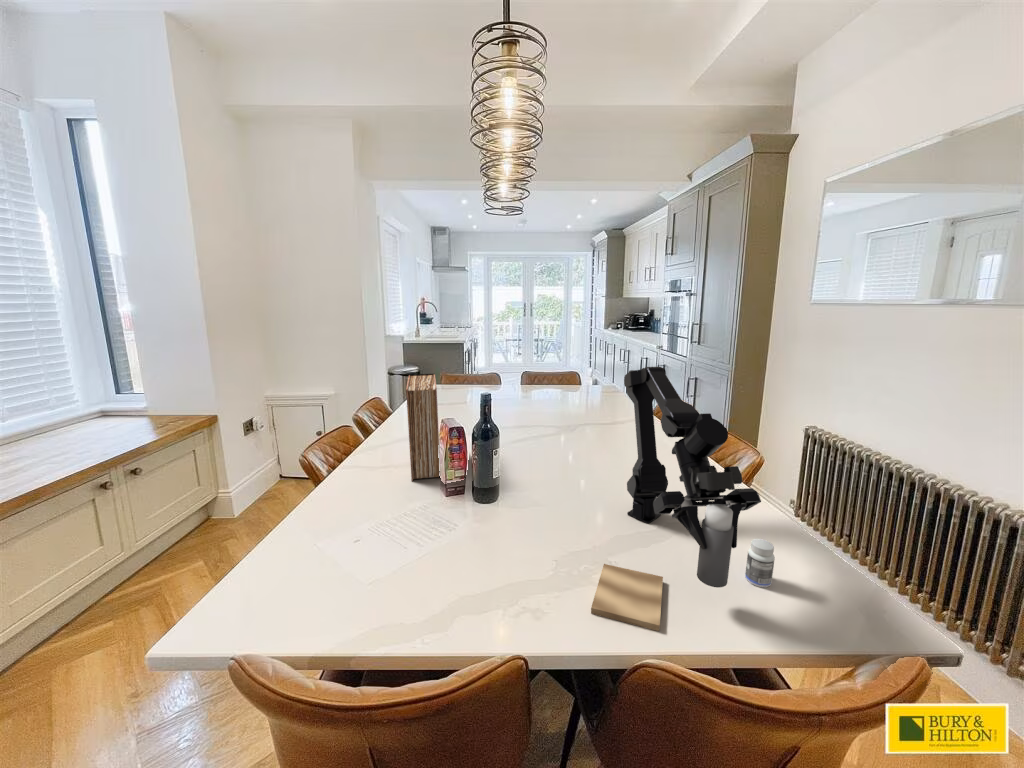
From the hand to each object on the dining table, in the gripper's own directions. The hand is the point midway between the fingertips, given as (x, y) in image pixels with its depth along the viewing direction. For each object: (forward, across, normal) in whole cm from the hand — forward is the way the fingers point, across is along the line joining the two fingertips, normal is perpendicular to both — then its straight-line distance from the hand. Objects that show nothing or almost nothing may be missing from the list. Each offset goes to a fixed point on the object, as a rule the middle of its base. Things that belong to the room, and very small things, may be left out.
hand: (719, 548), depth 77 cm
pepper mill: (+4, 0, +6) cm, 7 cm away
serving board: (+6, -14, +12) cm, 20 cm away
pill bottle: (+4, +14, +14) cm, 20 cm away
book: (-43, -62, +62) cm, 98 cm away
